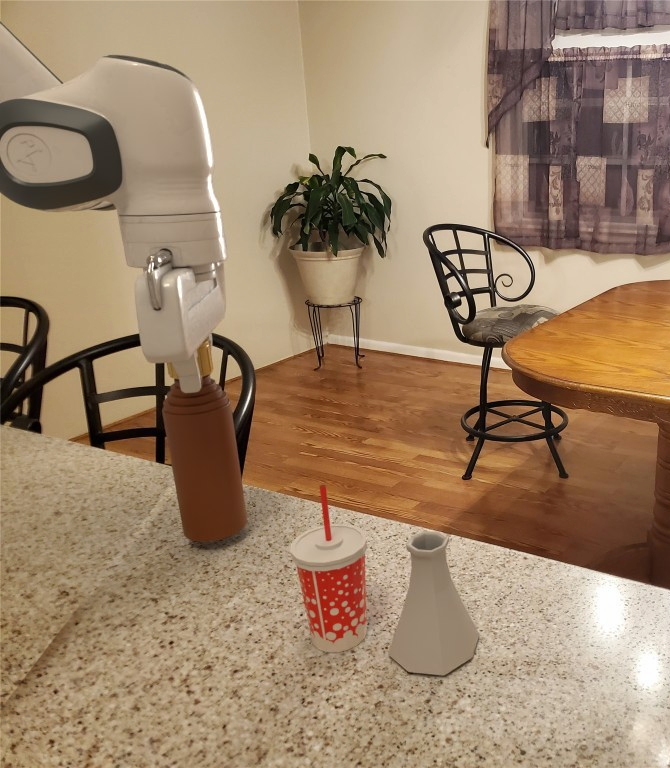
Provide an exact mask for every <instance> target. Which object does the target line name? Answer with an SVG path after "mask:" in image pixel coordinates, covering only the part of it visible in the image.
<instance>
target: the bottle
mask: <svg viewBox="0 0 670 768" xmlns="http://www.w3.org/2000/svg"><path fill="white" fill-rule="evenodd" d="M202 380H203V386H202V387H201V389H200V391H199V392H194V393H184V392H182V391H181V388H180V382H179V379H173V382H174V383H172V384H171V385H170V387H169V388H170V390H169V391H168V392H167V393H166V398H165V399H164V400H163V402H162V405H163V407H162V409H161V413H162V418H163V424H164V430H165V436H166V441H167V448H168V452H169V457H170V463H171V470H172V475H173V480H174V486H175V492H176V498H177V503H178V509H179V516H180V520H181V521H180V522H181V525H182V531H183V535H184V537H185V538H186V539H188V540H189V541H193V542H200V543H201V542H203V543H205V542H215V541H219V540H223V539H227V538H229V537H232V536H234V535H236V534H237V533H239V532H241V531H242V530H243V529H245V527H246V526H247V524H248V514H247V507H246V499H245V493H244V487H243V480H242V474H241V466H240V459H239V453H238V445H237V438H236V432H235V431H236V430H235V423H234V418H233V417H234V416H233V410H232V405H231V399H230V398H229V397H228V393H227V392H226V391H225V390H222V386H221V385H219V384H217V381H216V380H215V379H214V378H211V374H209V375H206V376H203V377H202Z"/></svg>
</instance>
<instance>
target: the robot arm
mask: <svg viewBox="0 0 670 768" xmlns="http://www.w3.org/2000/svg"><path fill="white" fill-rule="evenodd" d="M208 122H209V121H208V119H207V113H206V110H205V106H204V103H203V98H202V96H201V94H200V91H199V89H198V87H197V85H196V83H195V82H193V80H192V79H191V78H190V77H189V76H188V75H186V74H185V73H184V72H182V71H181V70H179V69H177V68H175V67H173V66H171V65H169V64H165V63H161V62H158V61H156V60H151V59H147V58H142V57H138V56H133V55H132V56H131V55H125V54H124V55H123V54H108V55H105V56H104V55H103V56H101V57H99V58H98V59H97V60H96V61H95V62H94V63H93V64H92V65H91V66H90V67H89V68H88V69H87V70H85V71H84V72H82V73H81V74H79V75H77V76H75V77H73V78H72V79H70V80H68V81H66V82H63V81H62V80H61V79H60V78H59V77H58V76H57V75H56V74H55V73H54V72H53V71H52V70H51V69H49V67H48V66H47V65H46V64H45V63H43V61H42V60H40V58H38V57H37V55H36V54H34V53H33V52H32V51H31V50H30V48H28V47H27V46H26V45H25V44H24V43H23V42H22V41H21V40H20V39H19V38H18V37H17V36H16V35H15V34H14V33H13V32H12V31H11V30H10V29H9V28H8V27H7V26H6V25H4V23H3V22H2V21H0V194H1V195H2V196H3V197H5V198H7V199H8V200H10V201H11V202H13V203H16V204H17V205H19V206H22V207H25V208H29V209H33V210H37V211H41V212H47V213H65V212H80V211H81V212H82V211H99V212H110V211H115V210H116V213H117V217H118V218H117V219H118V224H119V231H120V236H121V241H122V246H123V252H124V257H125V262H126V266H128V267H130V268H135V269H142V271H143V273H142V274H140V275H139V276H137V278H136V279H135V284H134V303H135V311H136V312H135V313H136V319H137V326H138V327H137V328H138V335H139V341H140V342H139V343H140V347H141V351H142V354H143V356H144V358H145V360H146V361H147V363H149V364H165V363H166V364H167V363H169V362H171V363H172V365H173V367H174V369H175V371H176V373H177V375H178V377H179V382H180V388H181V391H182V392H184V393H194V392H199V391H200V389H201V387H202V386H203V380H202V372H201V371H199V367H198V362H197V357H198V354H197V349H198V348H199V346H200V345H201V344H202V343H203V342H204V341H205V339H206V338H207V339H208V341H209V345H210V350H211V357H212V356H213V355H212V354H213V334H212V332H214V330H215V329H216V328H217V327H218V326H219V324H220V323H221V322H222V321H223V320H224V319H225V317H226V309H227V308H226V307H227V296H226V295H227V294H226V277H225V276H226V275H225V265H224V264H225V263H224V262H225V261H227V260H228V258H229V257H228V242H227V237H226V233H225V228H224V221H223V215H222V213H223V212H222V208H221V205H220V201H219V200H218V198H217V195H216V192H215V188H214V183H213V182H214V171H215V158H214V151H213V149H214V148H213V143H212V139H211V133H210V128H209V123H208Z"/></svg>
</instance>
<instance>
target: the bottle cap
mask: <svg viewBox="0 0 670 768" xmlns="http://www.w3.org/2000/svg"><path fill="white" fill-rule="evenodd" d="M197 354H198V357H197V362H198V367H199V371H201V372H202V377H203V376H206V375H209V374H210V375H211V374H212V373H213V372H214V365H213V358H212V356H211V350H210V345H209V341H208V339H207V338H206V339H205V341H204V342H203V343H202V344H201V345H200V346H199V348H198V349H197ZM166 367H167V374H168V376H169V378H171V379H173V380H174V379H179V377H178V375H177V373H176V371H175V369H174V367H173V365H172V363H171V362H169V363H166Z"/></svg>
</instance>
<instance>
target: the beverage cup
mask: <svg viewBox="0 0 670 768" xmlns="http://www.w3.org/2000/svg"><path fill="white" fill-rule="evenodd" d="M319 493H320V502H321V511H322V520H323V525H318V526H315V527H313V528H310V529H308V530H306V531H304V532H302V533H300V534H299V535H298V536H296V537H295V538H294V540H293V541H292V542H291V544H290V556H291V561H292V562H293V563H294V564H295V566H296V570H297V575H298V581H299V584H300V589H301V595H302V598H303V603H304V608H305V613H306V618H307V623H308V628H309V632H310V638H311V642H312V645H313V646H314V647H315V648H316V649H317V650H319V651H322V652H325V653H340V652H345V651H349V650H351V649H352V648H354V647H357V646H358V645H359V644H360V643H361V642H363V641H364V640H365V638H366V636H367V633H368V616H367V583H366V581H367V580H366V552H367V550H368V537H367V533H366V531H365V530H364V529H362V528H361V527H359V526H356V525H353V524H349V523H331V520H330V512H329V504H328V494H327V486H326V485H325V484H321V485H319Z"/></svg>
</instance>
